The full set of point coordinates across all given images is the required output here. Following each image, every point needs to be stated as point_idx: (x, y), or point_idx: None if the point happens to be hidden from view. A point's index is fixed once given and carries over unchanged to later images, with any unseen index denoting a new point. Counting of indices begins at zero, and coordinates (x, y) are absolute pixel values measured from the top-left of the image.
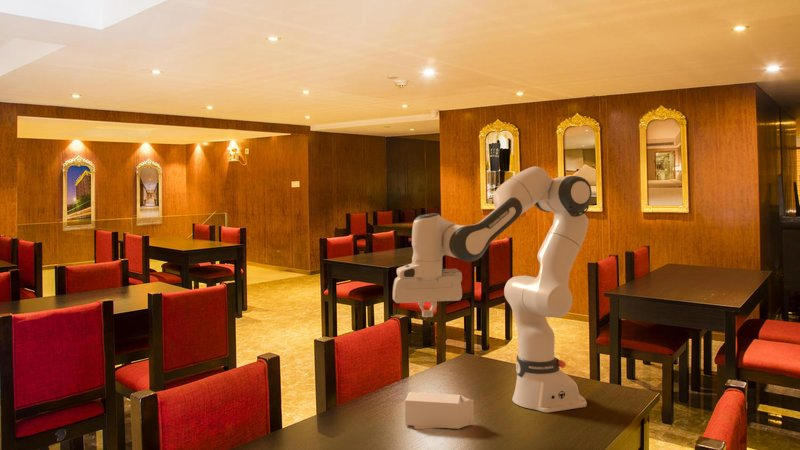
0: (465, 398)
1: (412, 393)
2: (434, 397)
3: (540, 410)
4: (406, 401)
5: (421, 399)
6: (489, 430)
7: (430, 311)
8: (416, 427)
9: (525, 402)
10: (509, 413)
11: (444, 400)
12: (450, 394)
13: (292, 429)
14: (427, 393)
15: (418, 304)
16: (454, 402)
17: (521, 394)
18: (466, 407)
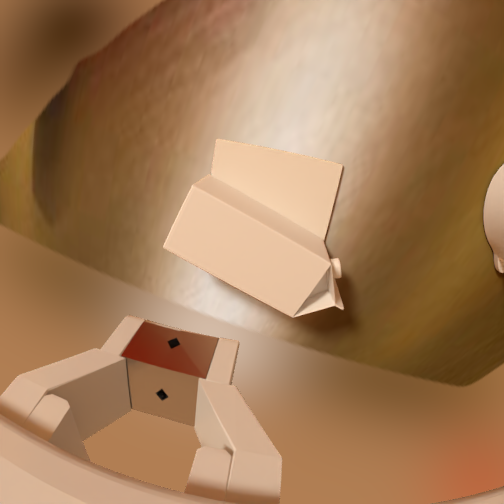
0: (332, 287)
1: (197, 202)
2: (249, 256)
3: (494, 260)
4: (166, 248)
5: (207, 257)
6: (352, 305)
7: (190, 423)
8: None
9: (492, 234)
10: (444, 243)
11: (267, 287)
12: (306, 251)
13: (3, 172)
14: (242, 218)
15: (21, 387)
16: (286, 307)
17: (501, 225)
18: (321, 299)
